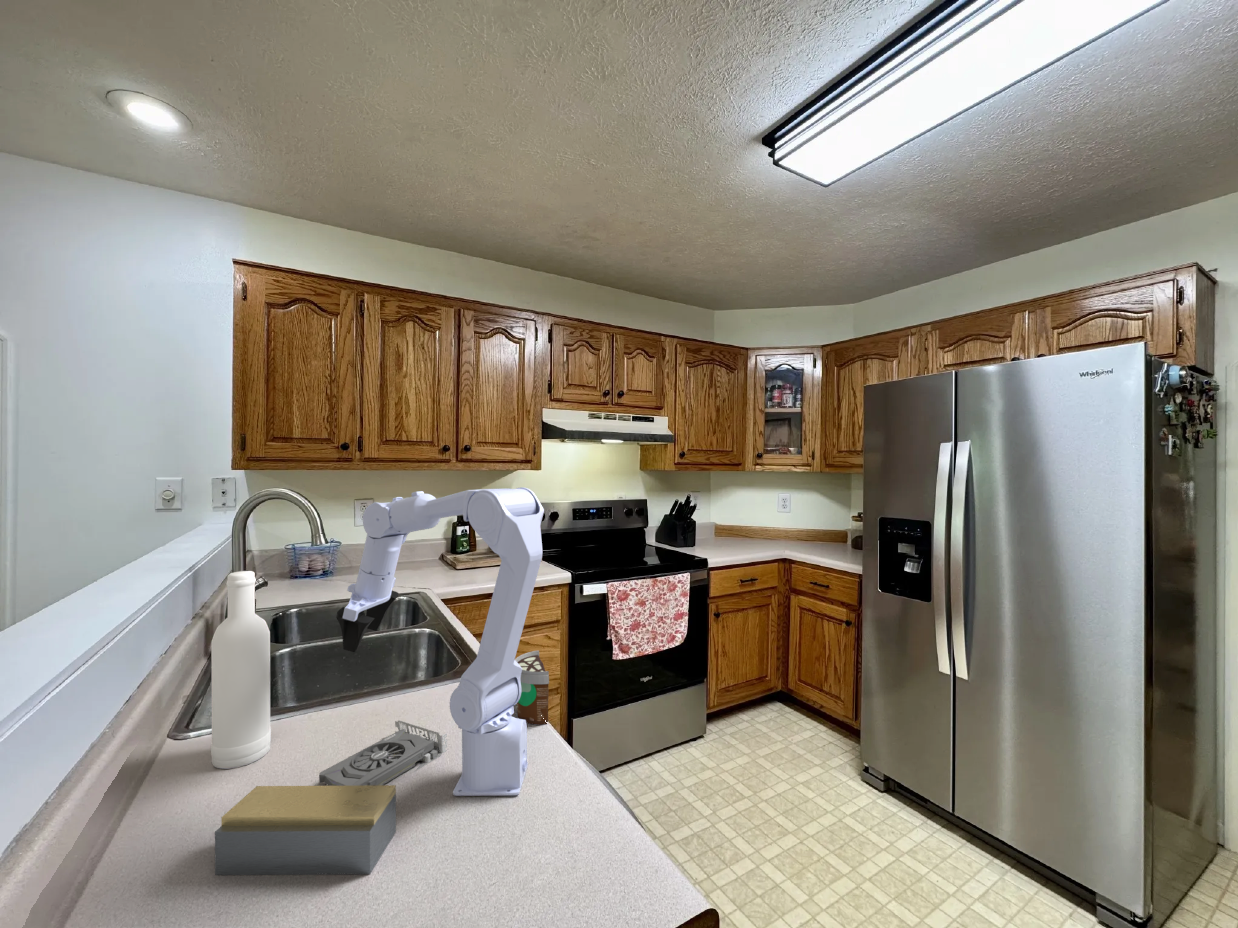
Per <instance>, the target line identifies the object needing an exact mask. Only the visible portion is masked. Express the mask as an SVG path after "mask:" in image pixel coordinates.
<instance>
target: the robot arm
mask: <svg viewBox="0 0 1238 928" xmlns="http://www.w3.org/2000/svg"><path fill="white" fill-rule="evenodd" d="M544 512H545V508H544V506H542V503H541V502H540V500H539V499H538V497H537V495H536V494H535V492H534V491H533V490H531V489H530V488H529V487H528V488H527V487H516V488H508V487H507V488H480V489H478V488H477V489H466V490H463V491H459V492H456V493H453V494H448V495H446V496H442V497H438V498H436V496H434V495H432V494H430V493H425V492H424V491H422V490H420V491H413V492H411V496H410V497H409V496H408V497H405V498H404V497H402V496H397V497H393V498H392V501H389V502H377V501H374V502H372V503H370V504H369V505H367V507H366V508H365V510H364V512H363V514H362V526H363V529H364V531H365V533H366V538H365V542H364V546H363V551H362V555H361V561H360V565H359V569H358V573H357V578H356V582H355V583H351V584H350V585H349V586H347V590H346V591H347V592H350V593H351V596H350V598H349V601H348V604H347V605H346V606H345V607H344V606H342V607H340V609H339V610H338V611H336V612H337V613H336V617H335V618H336V620H337V622H338V624H339V626H340V629H341V636H342V637H341V639H342V648H343V651H348V652H352V653H356V652H357V651H358V649H359V647H360V645H361V643H362V640H363V639H364V635H365V633H366V631H367V630H371V631H375V632H377V631H378V630H379V629H380V627H381V625H382V624H383V621H384V618H385V617H386V615H387V612H388V610H389V609H390V608H391V606H392V604H394V602H395V600H397V599H398V597H399V595H400V594H399V592H398V591H395V590H393V588H394V587H395V583H396V580H397V578H396V577H395V575H396V569H397V565H398V561H399V557H400V553H401V549H402V545H403V544H405V542H406V540H407V537H408V535H409V534H410V533H414V532H419V531H425V530H429V529H433V528H435V527H436V526H437V525H438V524H439V522H441V519H443V518H450V517H456V516H457V517H458V516H462V517H463V521H465V522H469V524H470V526H471V527H472V529H473V530H474V531H475V533H476V534H477V535H478V536H479V538H481V539H482V541H483V542H484V543H485V544H486V545H487V546H488V547H489V548H490V549H491V550H492V552H493V553H494V554H496V555H498V557H499V558H500V560H501V562H500V565H499V569H498V572H497V577H496V580H495V586H494V587H493V588H494V589H493V593H492V596H491V600H490V604H489V608H488V612H487V616H486V620H485V624H484V626H483V627H484V628H483V632H482V635H481V640H480V643H479V647H478V651H477V654H476V657H475V659H474V660H473V661H472V663H471V664H470V665H469V666H468V668H466V670H465V671H464V672H463V673H462V675H461V677H460V680H459V683H458V686H457V687H456V688H455V689H454V690H453V692H452V693H451V695H450V697H449V712H450V715H451V718H452V719H453V722H454V723H455V724H456V725H457V726H458V729H460V730H461V753H462V754H461V762H462V763H461V775H460V777H459V779H458V781H457V782H456V785H455V787H454V788H453V791H452V795H453V796H461V797H462V796H463V797H464V796H472V797H473V796H474V797H475V796H518V795H519V794H520V791H521V788H522V785H523V782H524V779H525V776H526V772H527V769H528V765H529V763H528V727H527V724H528V723H526V720H524V719H519V718H518V717H514V716H512V715H513V714H514V713H515V705H517V702H518V701H519V699H520V697H521V681H520V678H521V673H522V668H521V666H520V665H519V664H518V663H517V662H516V661H515V659H516V656H517V653H518V652H517V651H518V649H519V644H520V641H521V636H522V633H523V631H524V630H523V629H524V626H525V622H526V618H527V614H528V612H529V607H530V604H531V600H532V596H533V592H534V588H535V586H536V582H537V578H538V575H539V574H538V573H539V570H540V566H541V562H542V558H543V555H544V554H543V543H542V542H543V541H542V530H541V525H542V520H543V516H544ZM365 611H366V612H365Z"/></svg>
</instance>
